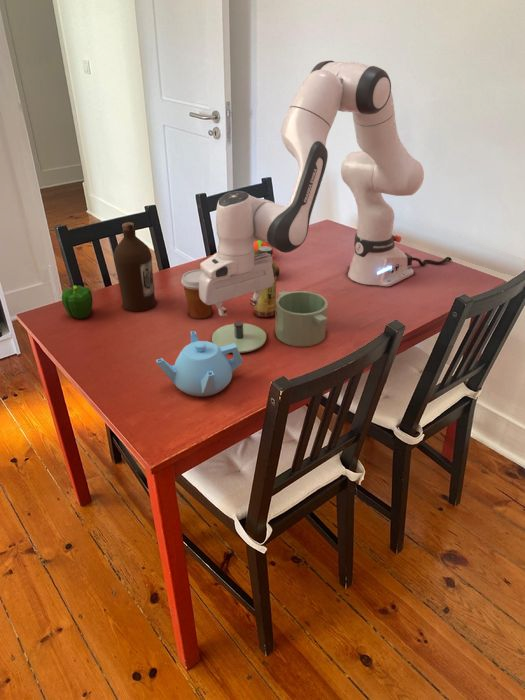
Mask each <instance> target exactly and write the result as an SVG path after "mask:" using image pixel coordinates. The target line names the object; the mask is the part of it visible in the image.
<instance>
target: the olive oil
mask: <svg viewBox="0 0 525 700" xmlns="http://www.w3.org/2000/svg"><path fill="white" fill-rule="evenodd" d="M121 227H122V229H121V230H122V235H123V237H122V239H121V241H119V243H118V244H117V245H116V246H115V248H114V251H113V262H114V267H115V272H116V276H117V281H118V286H119V291H120V295H121V300H122V306H123V308H124V309H125V310H127V311H129V312H144V311H148V310H150V309H152V308H153V307H154V306H155V304H156V297H155V296H156V295H155V283H154V272H153V256H152V252H151V250H150V248H149V246H148V245H147V244H146V242H144V241H143V240H141V239H140V238H139V237H137V235H136V228H135V223H134V222H130V221H128V222H123V223H122V225H121Z"/></svg>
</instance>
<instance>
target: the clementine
mask: <svg viewBox="0 0 525 700" xmlns="http://www.w3.org/2000/svg"><path fill="white" fill-rule="evenodd" d="M262 246H269V247H270V245H269V244H267V243H265V242H262V241H260V240H258V241H255V242H254V250H258V248H259V247H262Z"/></svg>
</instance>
